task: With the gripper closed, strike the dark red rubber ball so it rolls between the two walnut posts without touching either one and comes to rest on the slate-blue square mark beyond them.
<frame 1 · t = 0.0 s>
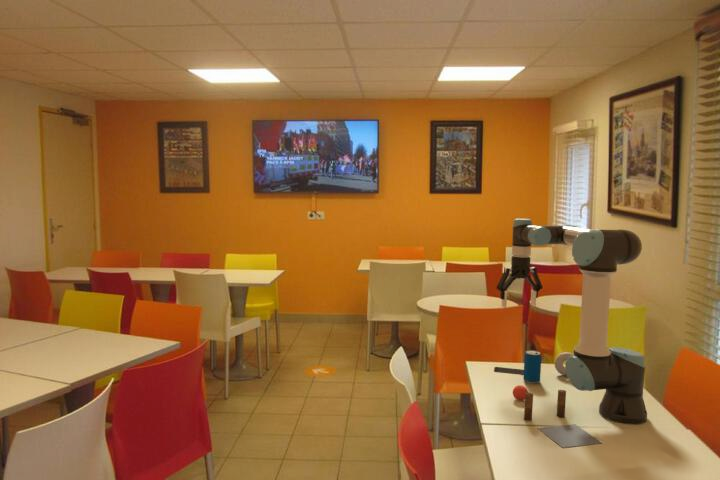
hand: (518, 306, 241), 28 cm above the table, tool pointing down, fingers open, 13 cm apart
ball: (520, 393, 212), on the table
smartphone: (510, 372, 244), on the table
donut: (566, 376, 240), on the table
post right: (560, 416, 198), on the table
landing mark: (569, 435, 183), on the table
post left: (527, 419, 195), on the table
beverage can: (531, 381, 232), on the table
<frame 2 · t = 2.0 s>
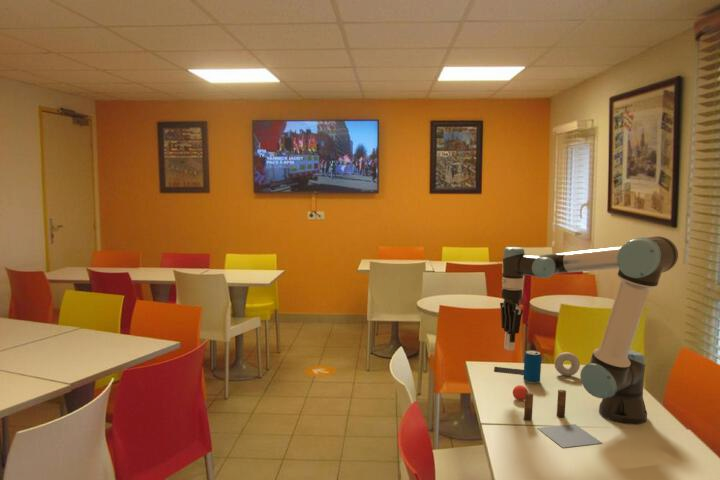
hand: (509, 349, 219), 16 cm above the table, tool pointing down, fingers closed
nothing on the table moved.
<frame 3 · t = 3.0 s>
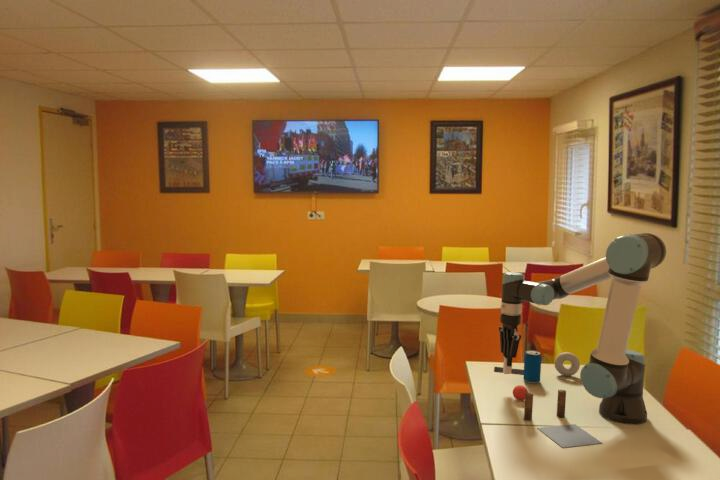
hand: (507, 373, 221), 7 cm above the table, tool pointing down, fingers closed
nothing on the table moved.
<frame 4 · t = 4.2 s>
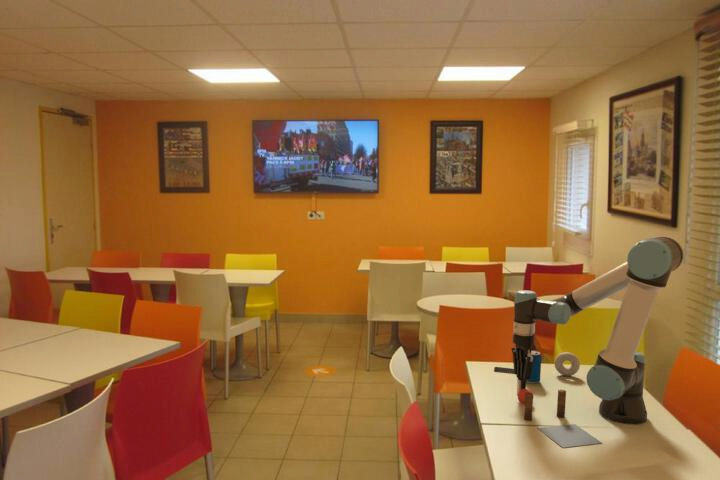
hand: (521, 395, 212), 2 cm above the table, tool pointing down, fingers closed
ball: (525, 396, 208), on the table
everything else where it was.
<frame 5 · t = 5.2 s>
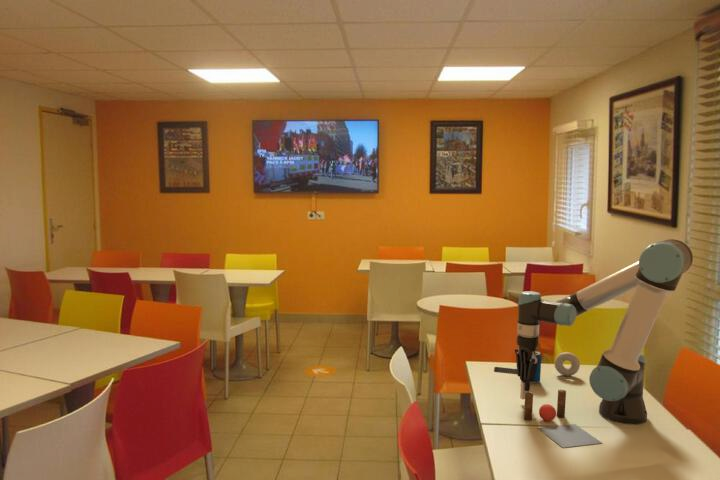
hand: (524, 398, 209), 2 cm above the table, tool pointing down, fingers closed
ball: (547, 412, 194), on the table
everything else where it was.
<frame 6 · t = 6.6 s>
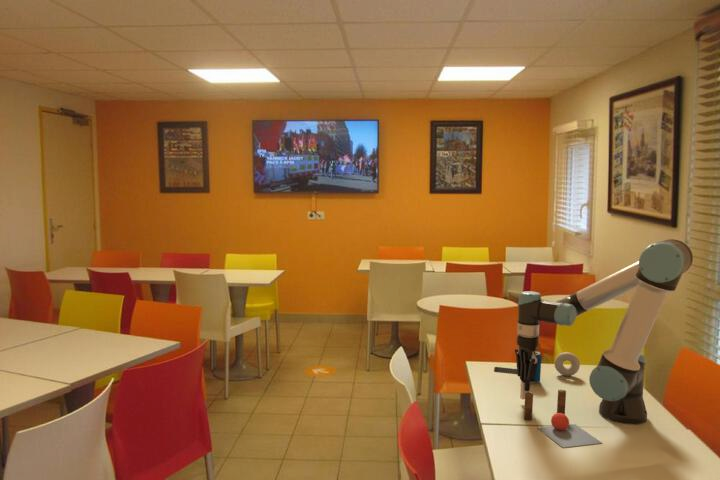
hand: (524, 398, 209), 2 cm above the table, tool pointing down, fingers closed
ball: (560, 421, 187), on the table
everything else where it was.
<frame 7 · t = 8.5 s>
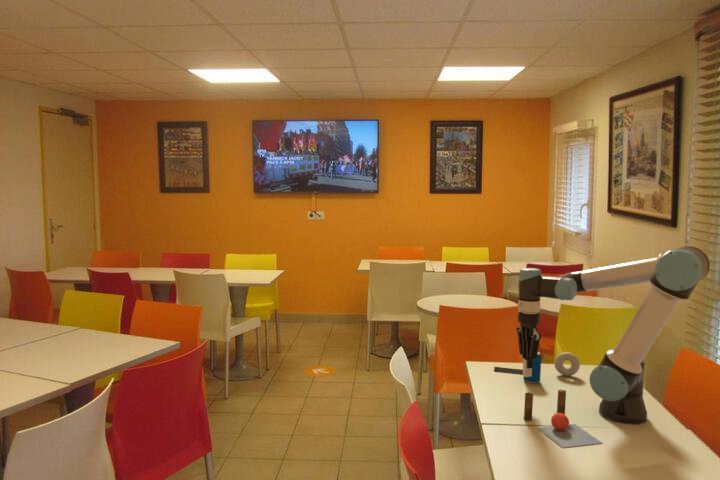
hand: (527, 376, 208), 10 cm above the table, tool pointing down, fingers closed
nothing on the table moved.
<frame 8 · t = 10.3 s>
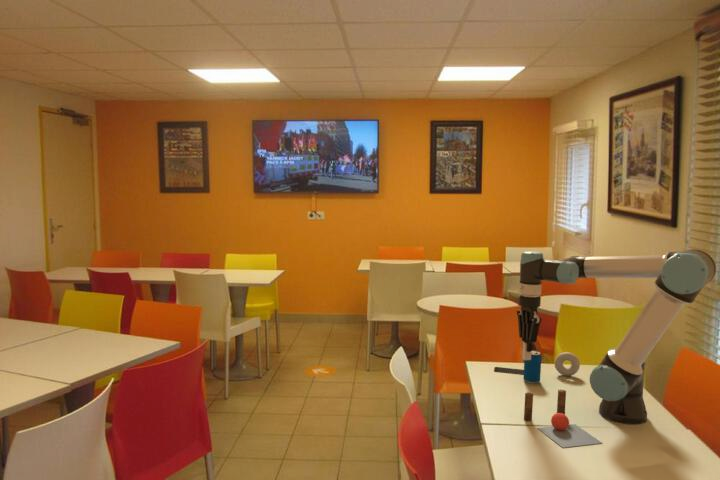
hand: (526, 359, 207), 16 cm above the table, tool pointing down, fingers closed
nothing on the table moved.
at the end: ball 4.6 cm from the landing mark (horizontally); ball never touched post left; ball never touched post right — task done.
